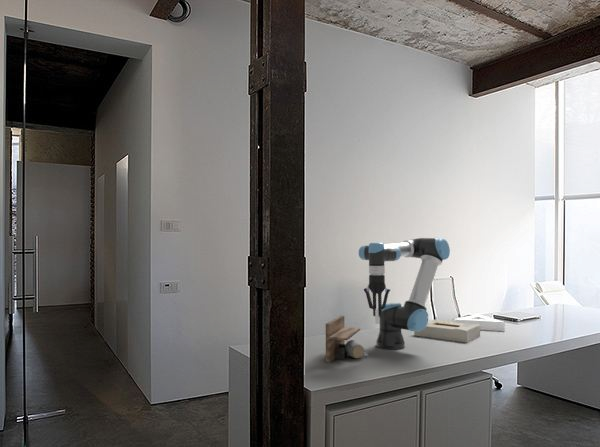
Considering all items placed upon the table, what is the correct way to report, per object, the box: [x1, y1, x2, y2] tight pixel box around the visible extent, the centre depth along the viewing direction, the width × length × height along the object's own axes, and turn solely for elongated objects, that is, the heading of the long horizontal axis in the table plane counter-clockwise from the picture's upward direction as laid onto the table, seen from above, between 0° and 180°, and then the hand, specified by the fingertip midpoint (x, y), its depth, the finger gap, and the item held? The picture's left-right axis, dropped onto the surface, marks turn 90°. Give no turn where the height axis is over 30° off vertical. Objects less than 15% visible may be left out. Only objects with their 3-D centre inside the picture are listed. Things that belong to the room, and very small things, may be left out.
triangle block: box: [453, 314, 506, 332], centre depth 317 cm, size 30×26×6 cm
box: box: [413, 318, 481, 343], centre depth 287 cm, size 23×8×32 cm
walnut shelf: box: [325, 314, 361, 363], centre depth 238 cm, size 10×26×18 cm, turn 159°
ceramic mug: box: [345, 339, 369, 359], centre depth 238 cm, size 11×8×8 cm
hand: (377, 323), depth 233 cm, fingers closed
